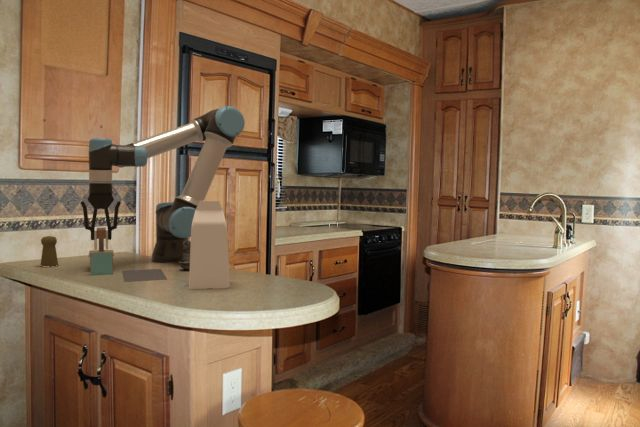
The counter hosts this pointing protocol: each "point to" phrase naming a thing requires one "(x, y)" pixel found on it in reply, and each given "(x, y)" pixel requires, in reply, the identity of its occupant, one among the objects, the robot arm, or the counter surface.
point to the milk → (209, 247)
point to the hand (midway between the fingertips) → (101, 249)
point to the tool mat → (143, 275)
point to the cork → (49, 251)
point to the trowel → (101, 240)
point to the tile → (101, 263)
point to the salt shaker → (186, 255)
